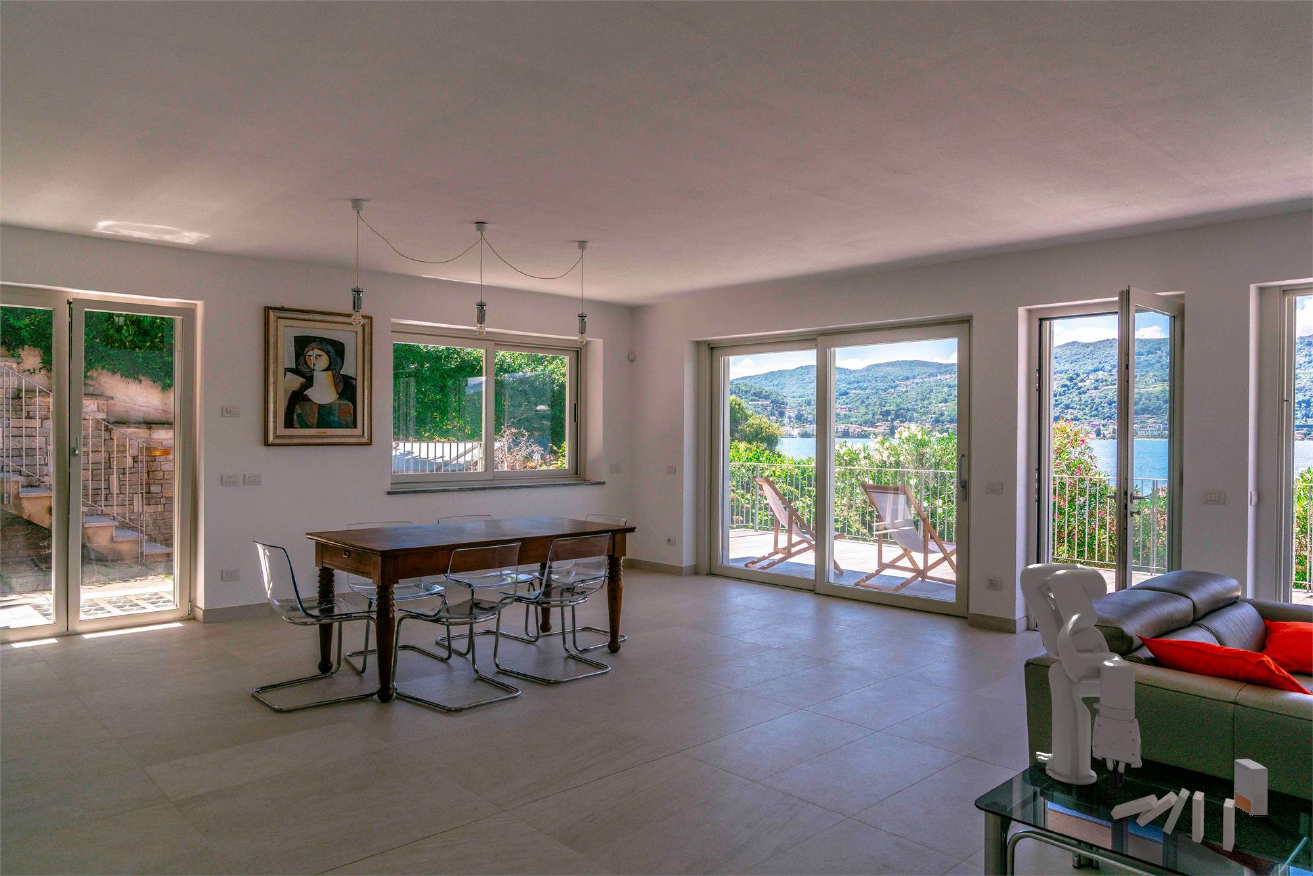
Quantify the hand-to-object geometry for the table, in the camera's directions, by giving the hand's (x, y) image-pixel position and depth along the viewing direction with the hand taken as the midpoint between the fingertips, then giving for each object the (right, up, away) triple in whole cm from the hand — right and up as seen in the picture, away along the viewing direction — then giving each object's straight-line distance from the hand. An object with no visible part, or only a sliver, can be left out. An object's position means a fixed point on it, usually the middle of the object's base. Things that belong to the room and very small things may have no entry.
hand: (1116, 785), depth 208 cm
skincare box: (+35, -8, +2) cm, 36 cm away
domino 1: (0, -7, +1) cm, 7 cm away
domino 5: (+18, -8, -15) cm, 24 cm away
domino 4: (+13, -8, -11) cm, 19 cm away
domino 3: (+9, -8, -7) cm, 13 cm away
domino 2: (+4, -7, -3) cm, 9 cm away
